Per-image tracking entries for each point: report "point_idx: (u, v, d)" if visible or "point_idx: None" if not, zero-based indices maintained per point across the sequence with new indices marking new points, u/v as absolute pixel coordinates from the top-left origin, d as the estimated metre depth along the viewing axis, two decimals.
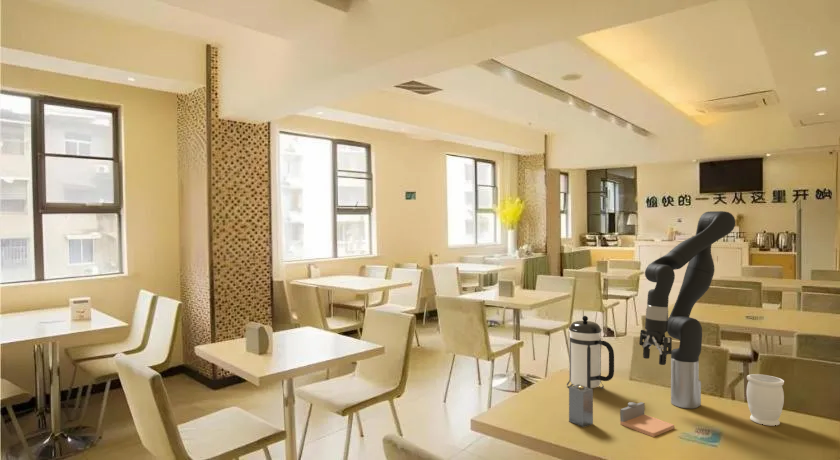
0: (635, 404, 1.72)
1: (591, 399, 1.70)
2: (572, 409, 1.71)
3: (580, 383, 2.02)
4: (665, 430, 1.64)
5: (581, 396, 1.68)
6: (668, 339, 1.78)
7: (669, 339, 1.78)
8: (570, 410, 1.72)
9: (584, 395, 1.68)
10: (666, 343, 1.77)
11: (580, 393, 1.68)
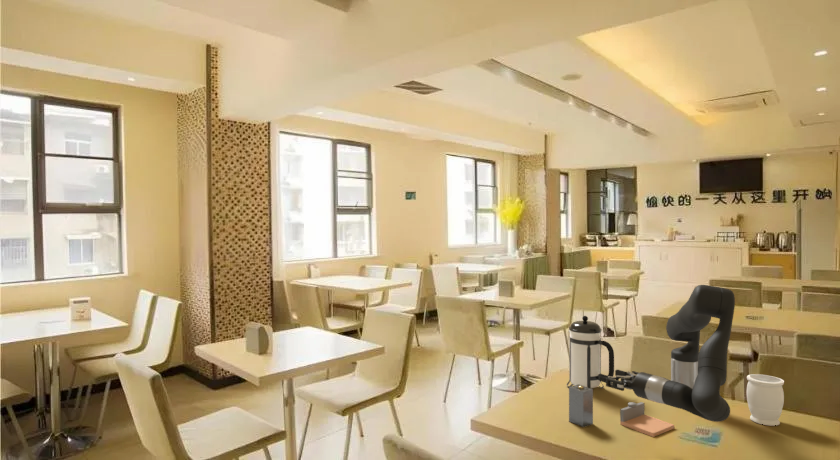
0: (635, 404, 1.72)
1: (591, 399, 1.70)
2: (572, 409, 1.71)
3: (580, 383, 2.02)
4: (665, 430, 1.64)
5: (581, 396, 1.68)
6: None
7: None
8: (570, 410, 1.72)
9: (584, 395, 1.68)
10: None
11: (580, 393, 1.68)
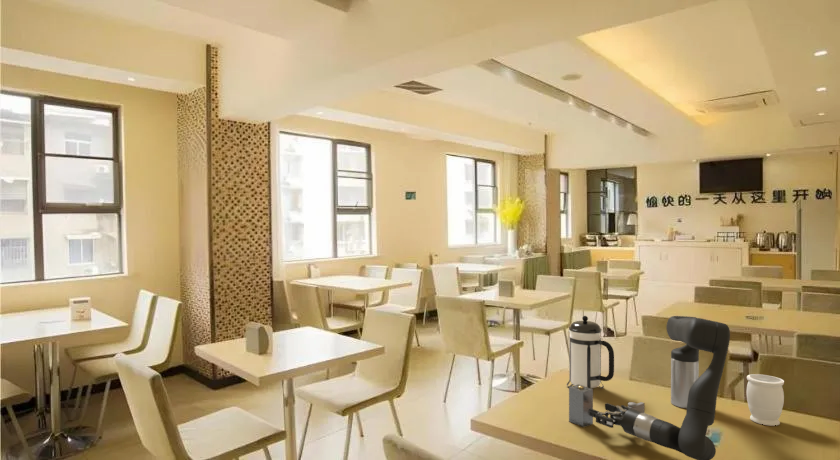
0: (635, 404, 1.72)
1: (591, 399, 1.70)
2: (572, 409, 1.71)
3: (580, 383, 2.02)
4: None
5: (581, 396, 1.68)
6: None
7: None
8: (570, 410, 1.72)
9: (584, 395, 1.68)
10: None
11: (580, 393, 1.68)
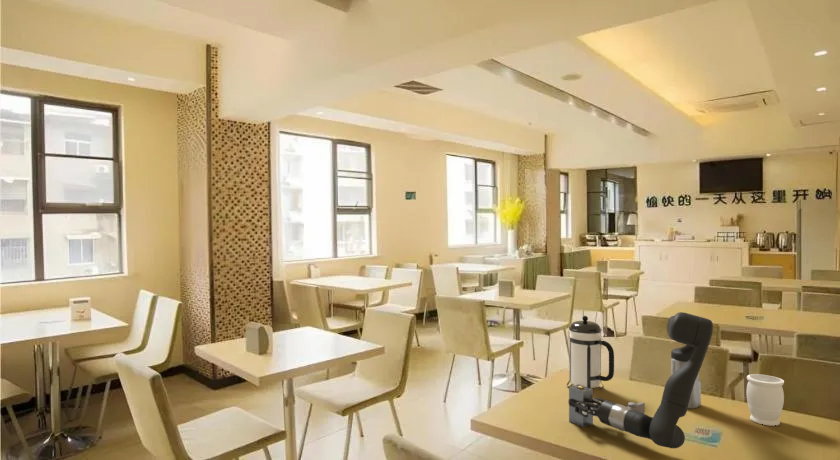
0: (635, 404, 1.72)
1: (591, 399, 1.70)
2: (572, 409, 1.71)
3: (580, 383, 2.02)
4: None
5: (581, 396, 1.68)
6: None
7: None
8: (570, 410, 1.72)
9: (584, 395, 1.68)
10: None
11: (580, 393, 1.68)
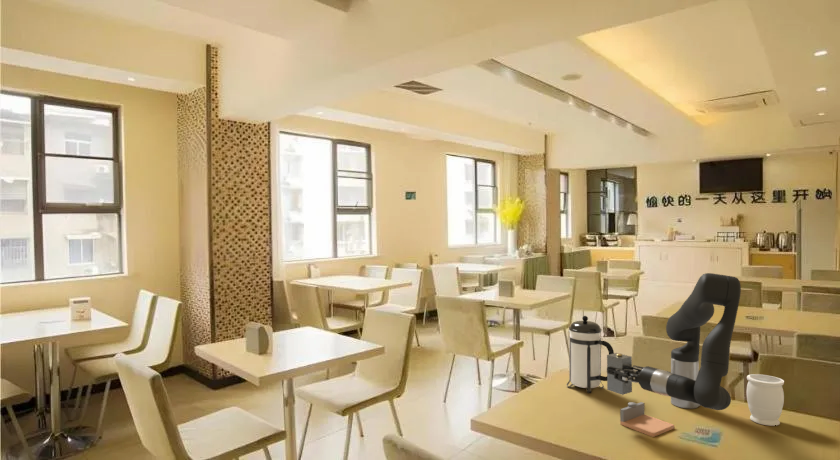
0: (635, 404, 1.72)
1: (630, 366, 1.68)
2: (610, 377, 1.70)
3: (580, 383, 2.02)
4: (665, 430, 1.64)
5: (620, 363, 1.66)
6: None
7: None
8: (609, 378, 1.70)
9: (623, 362, 1.66)
10: None
11: (618, 360, 1.67)
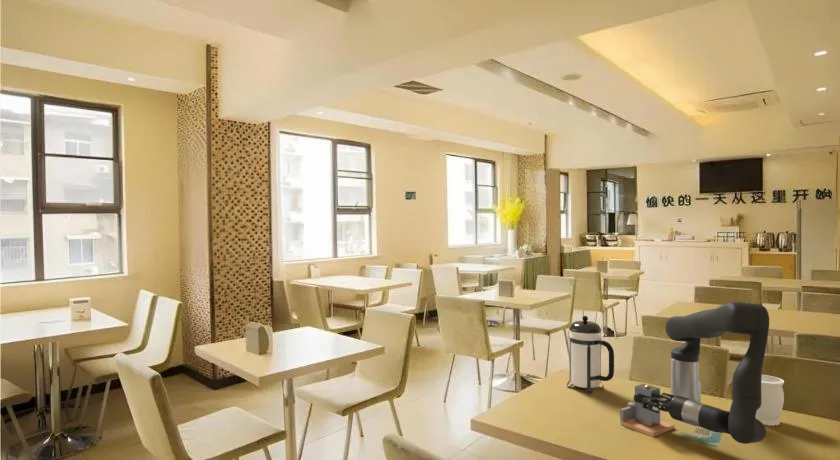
0: None
1: None
2: (638, 409, 1.68)
3: (580, 383, 2.02)
4: (665, 430, 1.64)
5: (648, 395, 1.65)
6: None
7: None
8: (637, 410, 1.68)
9: (651, 394, 1.64)
10: None
11: (647, 392, 1.65)
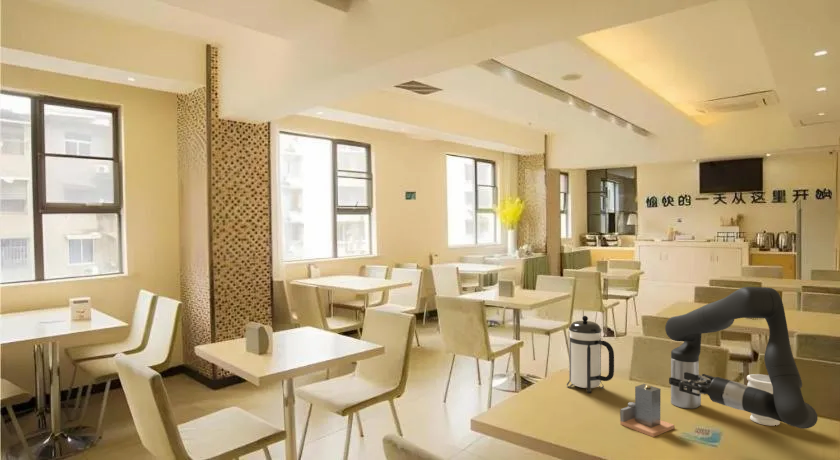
0: None
1: (659, 399, 1.66)
2: (639, 409, 1.68)
3: (580, 383, 2.02)
4: (665, 430, 1.64)
5: (649, 395, 1.65)
6: None
7: None
8: (637, 410, 1.68)
9: (652, 394, 1.64)
10: None
11: (647, 393, 1.65)
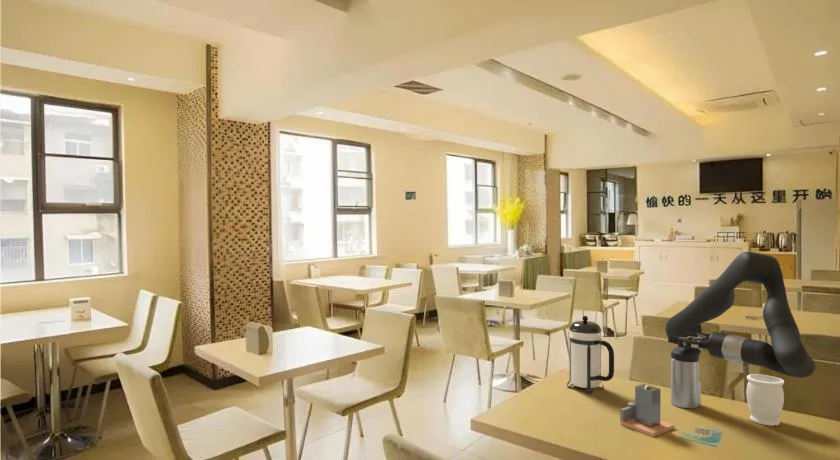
0: None
1: (659, 399, 1.66)
2: (639, 409, 1.68)
3: (580, 383, 2.02)
4: (665, 430, 1.64)
5: (649, 395, 1.65)
6: None
7: None
8: (637, 410, 1.68)
9: (652, 394, 1.64)
10: None
11: (647, 393, 1.65)
